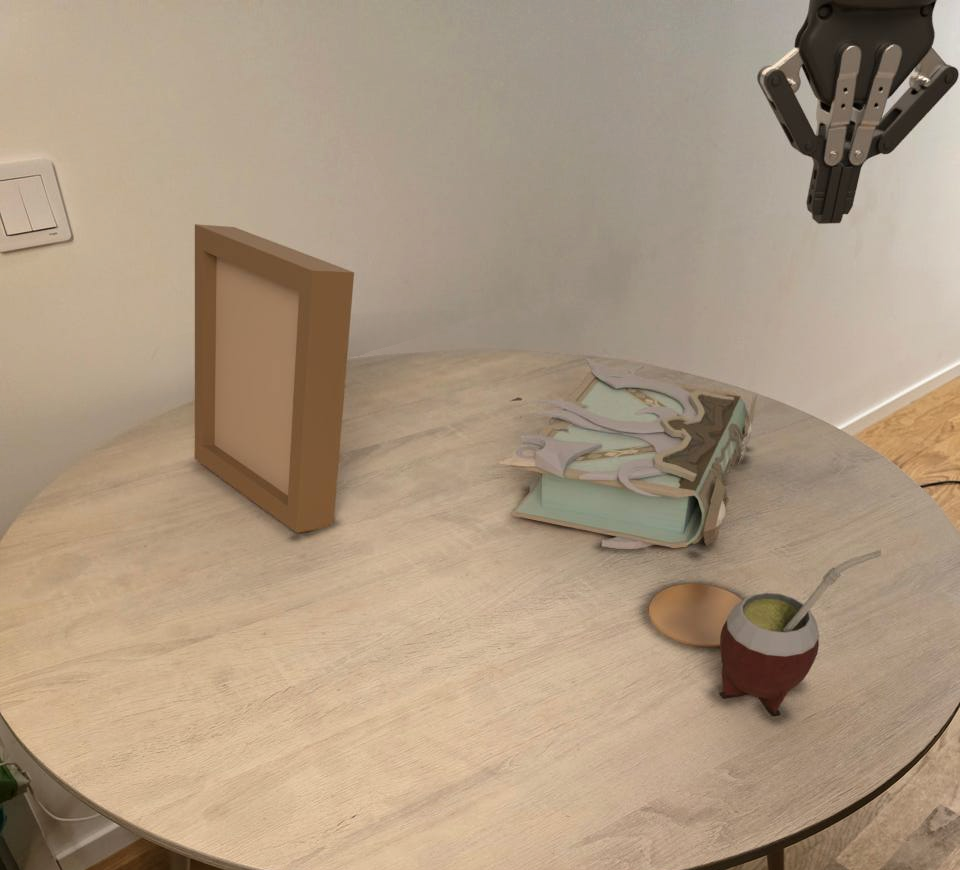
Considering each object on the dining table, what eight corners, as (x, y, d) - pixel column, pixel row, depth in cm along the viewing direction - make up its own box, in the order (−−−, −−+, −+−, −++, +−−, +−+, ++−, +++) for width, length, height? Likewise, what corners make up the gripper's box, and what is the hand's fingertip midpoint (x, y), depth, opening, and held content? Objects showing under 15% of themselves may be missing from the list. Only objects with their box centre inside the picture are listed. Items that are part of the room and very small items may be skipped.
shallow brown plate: (739, 588, 82) (740, 582, 82) (764, 649, 75) (765, 644, 75) (641, 589, 82) (641, 584, 82) (657, 651, 75) (657, 646, 75)
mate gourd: (697, 672, 73) (725, 512, 63) (785, 656, 74) (826, 497, 65) (738, 734, 67) (775, 569, 58) (833, 717, 68) (885, 552, 59)
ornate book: (708, 583, 84) (761, 440, 105) (722, 495, 78) (776, 361, 99) (486, 537, 91) (578, 411, 112) (484, 452, 85) (581, 336, 106)
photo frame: (297, 541, 90) (254, 284, 74) (196, 466, 103) (141, 234, 87) (414, 492, 97) (397, 249, 81) (306, 428, 110) (274, 208, 94)
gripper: (797, -91, 50) (746, 237, 61) (1034, -97, 50) (940, 233, 61) (763, -89, 56) (721, 210, 67) (975, -94, 56) (899, 206, 67)
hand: (826, 220), depth 64 cm, fingers closed
